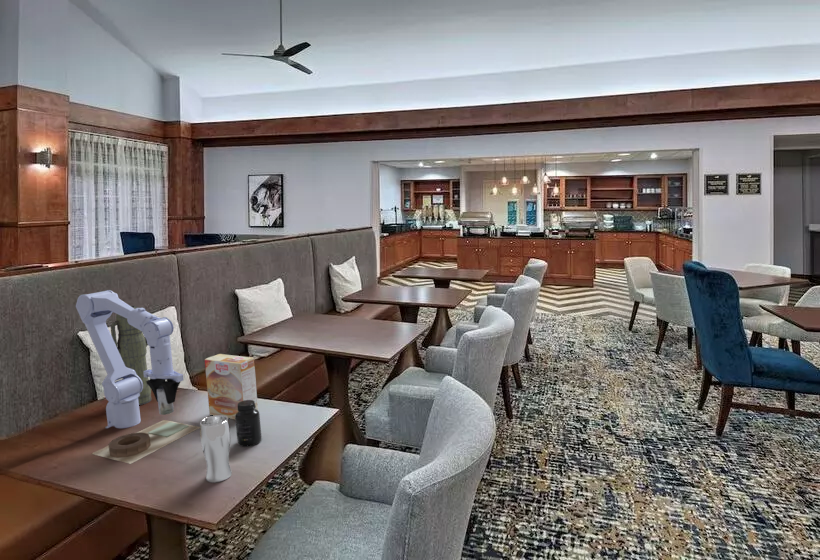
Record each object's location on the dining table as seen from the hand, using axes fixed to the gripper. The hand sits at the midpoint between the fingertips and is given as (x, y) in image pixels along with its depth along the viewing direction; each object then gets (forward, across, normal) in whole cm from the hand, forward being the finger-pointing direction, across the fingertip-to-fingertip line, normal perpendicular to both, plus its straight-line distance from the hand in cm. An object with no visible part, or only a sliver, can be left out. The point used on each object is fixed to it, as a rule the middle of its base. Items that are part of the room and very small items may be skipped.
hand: (165, 401), depth 151 cm
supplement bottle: (+10, +28, +4) cm, 30 cm away
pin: (+3, 0, 0) cm, 3 cm away
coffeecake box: (+10, +9, +18) cm, 23 cm away
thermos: (+10, -33, +15) cm, 38 cm away
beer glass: (+10, +34, -14) cm, 38 cm away
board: (+10, 0, -7) cm, 12 cm away
